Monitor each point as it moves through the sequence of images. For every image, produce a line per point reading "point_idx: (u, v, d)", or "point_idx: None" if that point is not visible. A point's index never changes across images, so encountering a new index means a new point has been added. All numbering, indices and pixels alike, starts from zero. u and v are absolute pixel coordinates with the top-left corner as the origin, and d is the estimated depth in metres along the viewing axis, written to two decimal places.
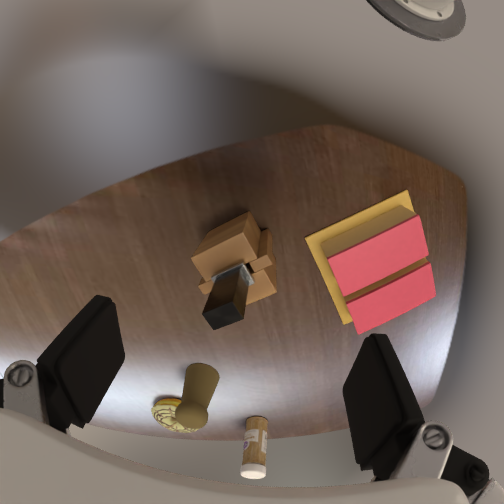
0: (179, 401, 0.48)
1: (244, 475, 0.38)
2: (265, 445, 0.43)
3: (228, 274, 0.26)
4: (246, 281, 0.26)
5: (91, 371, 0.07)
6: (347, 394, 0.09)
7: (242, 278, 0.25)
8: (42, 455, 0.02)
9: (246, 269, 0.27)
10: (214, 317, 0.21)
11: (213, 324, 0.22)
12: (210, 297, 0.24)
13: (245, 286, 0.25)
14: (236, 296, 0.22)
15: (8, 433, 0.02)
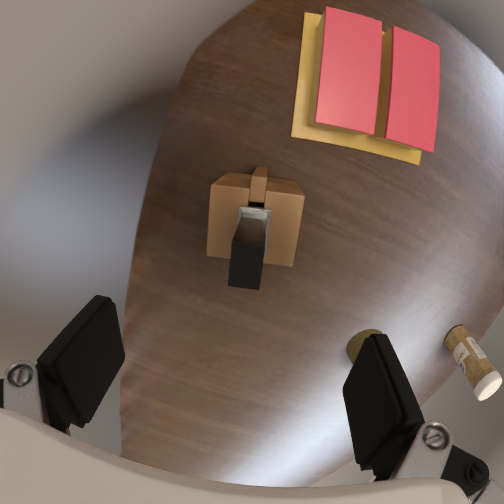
0: None
1: (483, 397, 0.24)
2: (479, 350, 0.28)
3: None
4: (259, 216, 0.20)
5: (91, 371, 0.07)
6: (347, 394, 0.09)
7: (249, 217, 0.19)
8: (42, 455, 0.02)
9: (249, 207, 0.20)
10: (241, 276, 0.16)
11: (250, 284, 0.16)
12: None
13: (258, 220, 0.19)
14: (242, 233, 0.16)
15: (8, 432, 0.02)
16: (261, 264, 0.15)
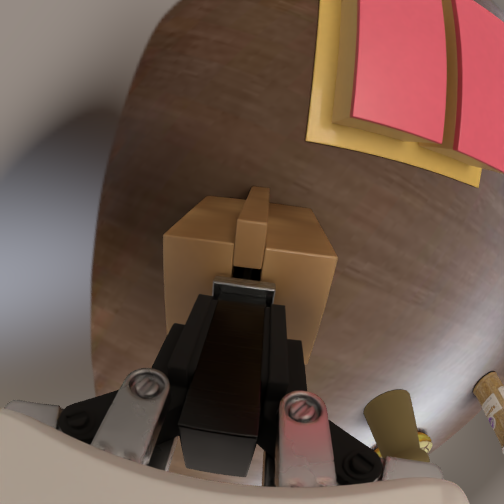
0: None
1: None
2: None
3: None
4: (251, 305, 0.10)
5: None
6: None
7: (231, 310, 0.10)
8: (42, 455, 0.02)
9: (233, 283, 0.11)
10: (208, 463, 0.06)
11: (228, 472, 0.06)
12: None
13: (249, 320, 0.09)
14: (205, 385, 0.06)
15: (8, 432, 0.02)
16: (249, 457, 0.05)
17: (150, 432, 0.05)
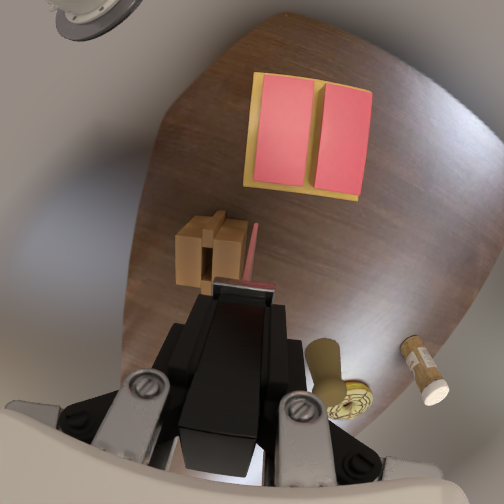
0: None
1: (430, 403, 0.31)
2: (429, 359, 0.36)
3: None
4: (251, 305, 0.10)
5: None
6: None
7: (231, 311, 0.10)
8: (42, 455, 0.02)
9: (232, 284, 0.11)
10: (208, 464, 0.06)
11: (228, 473, 0.06)
12: None
13: (249, 321, 0.09)
14: (205, 386, 0.06)
15: (7, 432, 0.02)
16: (249, 457, 0.06)
17: (150, 432, 0.05)
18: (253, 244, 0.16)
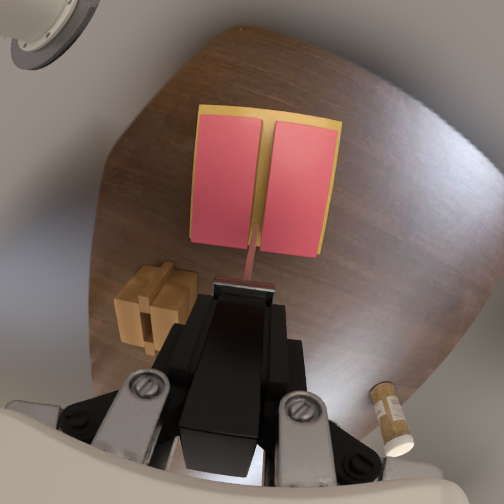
0: None
1: (393, 456, 0.29)
2: (397, 411, 0.33)
3: None
4: (251, 305, 0.10)
5: None
6: None
7: (231, 311, 0.10)
8: (42, 455, 0.02)
9: (233, 284, 0.11)
10: (208, 464, 0.06)
11: (229, 473, 0.06)
12: None
13: (249, 321, 0.09)
14: (206, 386, 0.06)
15: (8, 432, 0.02)
16: (249, 457, 0.05)
17: (150, 432, 0.05)
18: (254, 244, 0.16)
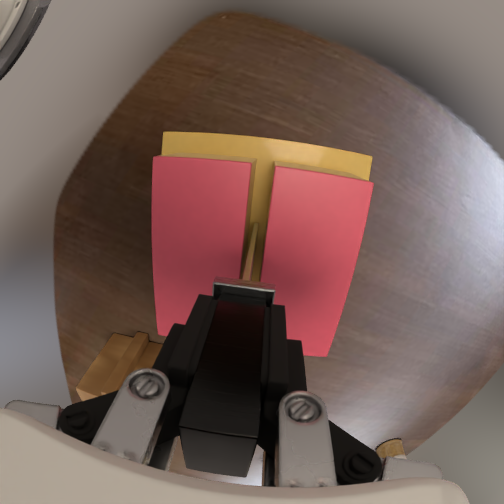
0: None
1: None
2: None
3: None
4: (251, 305, 0.10)
5: None
6: None
7: (231, 311, 0.10)
8: (42, 455, 0.02)
9: (233, 284, 0.11)
10: (208, 464, 0.06)
11: (229, 473, 0.06)
12: None
13: (249, 321, 0.09)
14: (206, 386, 0.06)
15: (8, 432, 0.02)
16: (249, 457, 0.06)
17: (150, 432, 0.05)
18: (254, 244, 0.16)
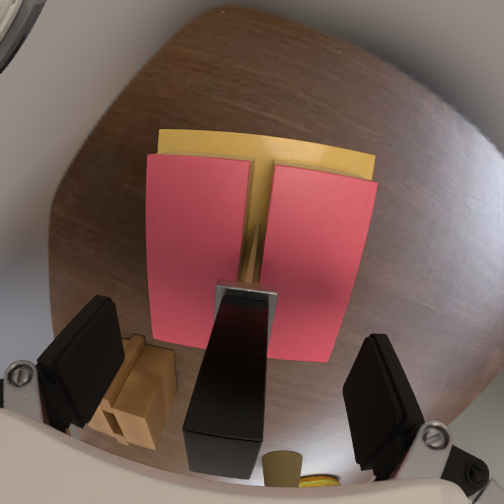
0: None
1: None
2: None
3: None
4: (254, 308, 0.10)
5: (91, 371, 0.07)
6: (347, 394, 0.09)
7: (234, 314, 0.10)
8: (42, 455, 0.02)
9: (235, 286, 0.11)
10: (212, 467, 0.06)
11: (232, 475, 0.06)
12: None
13: (252, 324, 0.09)
14: (210, 390, 0.06)
15: (8, 432, 0.02)
16: (253, 460, 0.05)
17: (39, 409, 0.04)
18: (256, 246, 0.16)
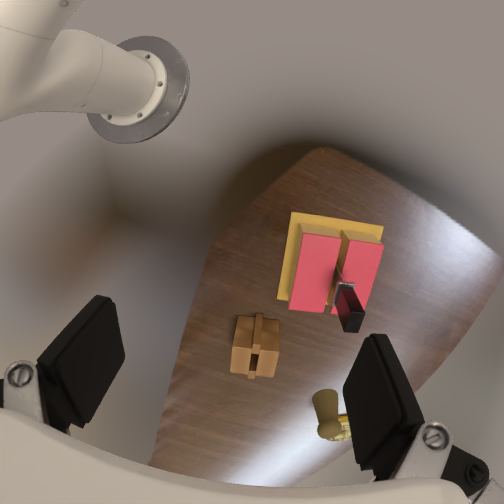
0: None
1: None
2: None
3: (338, 296, 0.34)
4: (350, 289, 0.34)
5: (91, 371, 0.07)
6: (347, 394, 0.09)
7: (346, 290, 0.33)
8: (42, 455, 0.02)
9: (343, 283, 0.34)
10: (351, 327, 0.29)
11: (354, 330, 0.30)
12: (340, 318, 0.32)
13: (352, 292, 0.33)
14: (351, 305, 0.30)
15: (8, 432, 0.02)
16: (361, 321, 0.29)
17: (39, 409, 0.04)
18: (338, 267, 0.39)
